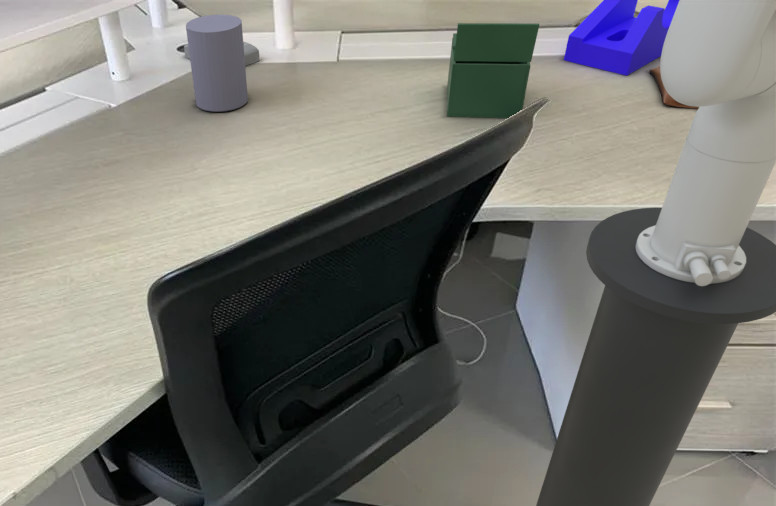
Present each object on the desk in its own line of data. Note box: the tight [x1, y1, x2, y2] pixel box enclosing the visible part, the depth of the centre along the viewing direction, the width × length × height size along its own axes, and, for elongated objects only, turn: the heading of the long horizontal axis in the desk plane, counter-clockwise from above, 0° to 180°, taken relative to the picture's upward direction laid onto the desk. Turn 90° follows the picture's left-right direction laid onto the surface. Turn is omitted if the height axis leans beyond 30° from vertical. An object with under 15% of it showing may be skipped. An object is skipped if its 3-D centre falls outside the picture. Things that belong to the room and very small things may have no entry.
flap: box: [453, 22, 540, 63], centre depth 118 cm, size 7×13×1 cm
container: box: [185, 14, 249, 113], centre depth 134 cm, size 10×10×15 cm
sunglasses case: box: [649, 66, 699, 110], centre depth 131 cm, size 18×7×7 cm
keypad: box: [183, 41, 261, 67], centre depth 156 cm, size 10×4×15 cm
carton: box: [446, 32, 531, 119], centre depth 129 cm, size 14×13×10 cm
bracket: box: [563, 0, 679, 77], centre depth 144 cm, size 21×14×10 cm, turn 132°
